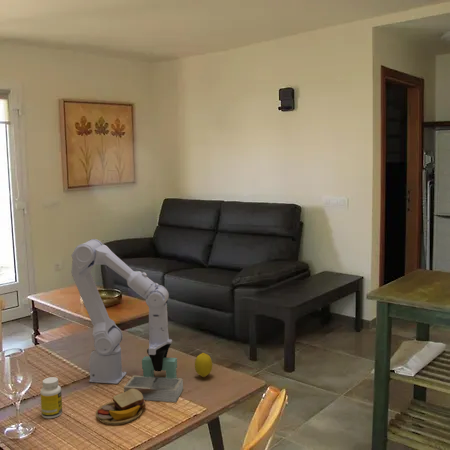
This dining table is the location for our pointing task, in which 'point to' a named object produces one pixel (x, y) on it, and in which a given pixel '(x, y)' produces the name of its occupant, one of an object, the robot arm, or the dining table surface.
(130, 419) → the toy sandwich meal
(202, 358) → the lemon
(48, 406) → the supplement bottle
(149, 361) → the clip
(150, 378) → the cabinet frame
